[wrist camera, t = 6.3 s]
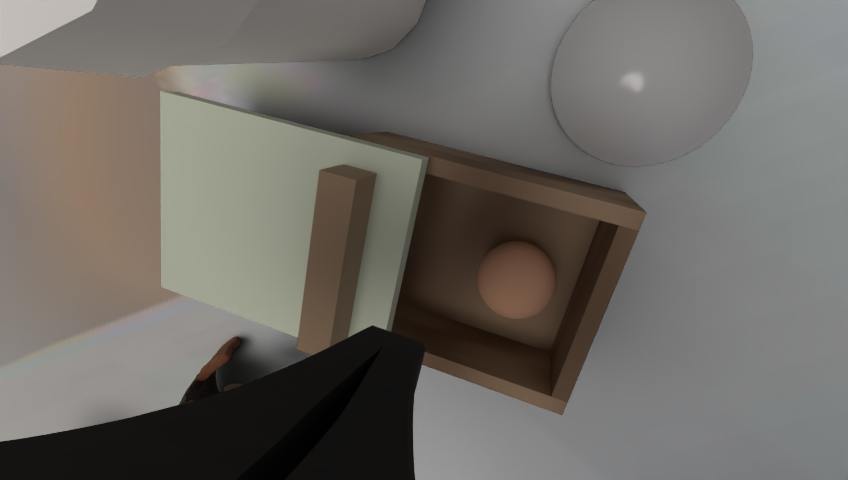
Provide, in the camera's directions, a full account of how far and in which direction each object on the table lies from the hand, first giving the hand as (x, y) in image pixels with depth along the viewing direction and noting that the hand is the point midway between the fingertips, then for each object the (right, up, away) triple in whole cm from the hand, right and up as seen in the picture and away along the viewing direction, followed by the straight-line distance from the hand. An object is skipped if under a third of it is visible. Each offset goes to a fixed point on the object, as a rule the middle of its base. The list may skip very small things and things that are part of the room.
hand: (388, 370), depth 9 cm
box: (+3, +3, +9) cm, 10 cm away
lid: (-5, +3, +7) cm, 9 cm away
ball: (+4, +1, +7) cm, 8 cm away
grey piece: (+8, +9, +5) cm, 13 cm away
